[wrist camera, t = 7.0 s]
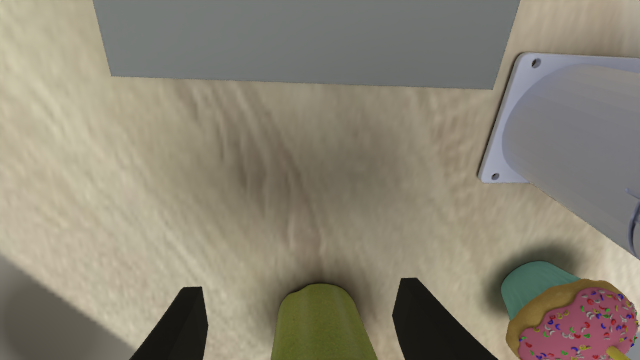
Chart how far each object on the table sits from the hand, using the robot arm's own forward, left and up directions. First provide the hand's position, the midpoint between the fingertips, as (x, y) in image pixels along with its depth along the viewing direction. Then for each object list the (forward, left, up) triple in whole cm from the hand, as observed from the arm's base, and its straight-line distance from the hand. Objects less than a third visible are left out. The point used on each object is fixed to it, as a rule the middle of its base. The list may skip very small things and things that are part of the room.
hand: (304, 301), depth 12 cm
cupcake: (-20, +10, -10) cm, 24 cm away
